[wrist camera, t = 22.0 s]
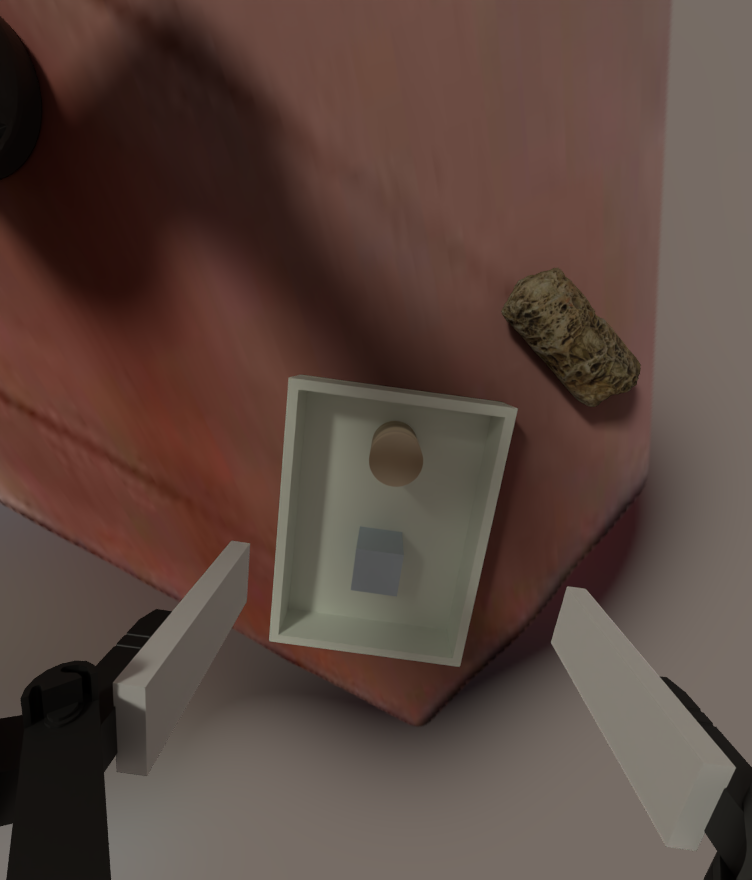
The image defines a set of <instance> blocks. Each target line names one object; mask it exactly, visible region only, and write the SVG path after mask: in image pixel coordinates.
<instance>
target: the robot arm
mask: <svg viewBox="0 0 752 880" xmlns="http://www.w3.org/2000/svg"><path fill="white" fill-rule="evenodd" d="M40 124H41V95H40V89H39V84H38V80H37V76H36V73H35V70H34V67H33V64H32V62H31V59H30V57H29V55H28V53H27V51H26V49H25V47H24V46H23V44H22V42H21V41H20V39H19V38H18V36H17V35H16V34H15V32H14V31H13V30H12V28H11V27H10V26H9V25H8V24H7V23H6V22H5V20H4V19H3V18H1V17H0V179H1V178H4V177H6V176H8V175H10V174H11V173H13V172H14V171H16V170H17V169H18V168H19V167H20V166H21V165H22V164H23V163H24V162H25V161H26V159H27V158H28V157H29V155H30V153H31V152H32V150H33V148H34V146H35V143H36V140H37V137H38V134H39V130H40ZM249 551H250V543H243V542H236V541H231V542H230V543H229V544H228V546H227V547H226V548H225V549H224V550H223V552H222V553H221V554H220V555H219V556H218V558H217V559H216V560H215V561H214V562H213V563H212V565H211V566H210V567H209V568H208V569H207V571H206V572H205V573H204V574H203V575H202V577H201V578H200V579H199V580H198V581H197V583H196V584H195V585H194V586H193V587H192V589H191V590H190V591H189V592H188V593H187V595H186V596H185V597H184V598H183V599H182V601H181V602H180V603H179V604H178V605H177V607H176V608H175V609H174V610H173V611H166V610H158V609H156V610H154V611H152V612H151V613H149V614H148V615H146V616H145V617H143V618H141V619H139V620H138V621H137V623H136V624H135V625H134V626H133V627H132V628H131V629H130V630H129V631H128V632H127V635H125V636H123V637H122V639H121V640H120V641H119V642H118V643H117V645H116V646H115V647H113V648H112V649H111V650H110V651H109V652H108V653H107V655H106V656H105V657H104V658H103V659H102V660H101V661H100V662H99V663H98V664H97V665H96V666H94V665H93V664H91V663H89V662H87V661H72V662H68V663H63V664H60V665H58V666H55V667H53V668H51V669H48V670H46V671H45V672H44V673H42V674H41V675H39V676H38V677H36V678H35V679H34V680H33V681H32V682H31V683H30V684H29V685H28V686H27V687H26V688H25V690H24V692H23V694H22V697H21V706H22V715H20V716H14V717H7V718H1V719H0V826H3V825H8V824H12V823H13V828H12V836H11V845H10V854H9V862H8V870H7V879H6V880H111V872H110V858H109V843H108V827H107V813H106V798H105V783H104V772H105V770H106V769H107V767H108V766H109V764H110V763H111V761H112V760H113V759H114V757H115V756H116V768H117V772H121V773H128V774H136V775H143V776H147V775H148V773H149V772H150V770H151V768H152V766H153V765H154V763H155V761H156V759H157V758H158V756H159V754H160V752H161V751H162V749H163V747H164V745H165V744H166V741H167V740H168V738H169V737H170V735H171V733H172V731H173V729H174V728H175V726H176V724H177V723H178V721H179V719H180V717H181V715H182V714H183V712H184V710H185V709H186V707H187V705H188V703H189V702H190V700H191V698H192V696H193V695H194V693H195V691H196V689H197V688H198V686H199V684H200V682H201V680H202V679H203V677H204V675H205V673H206V672H207V670H208V668H209V666H210V665H211V663H212V661H213V659H214V657H215V656H216V654H217V652H218V651H219V649H220V647H221V645H222V644H223V642H224V640H225V638H226V637H227V635H228V633H229V631H230V630H231V628H232V626H233V624H234V623H235V621H236V619H237V617H238V616H239V614H240V612H241V610H242V609H243V607H244V605H245V603H246V602H247V587H248V569H249ZM551 644H552V645H553V647H554V649H555V651H556V652H557V654H558V656H559V658H560V659H561V661H562V663H563V665H564V667H565V668H566V670H567V672H568V674H569V675H570V677H571V678H572V681H573V683H574V684H575V686H576V688H577V690H578V691H579V693H580V695H581V697H582V699H583V700H584V702H585V704H586V706H587V707H588V709H589V711H590V712H591V714H592V716H593V718H594V720H595V722H596V723H597V725H598V727H599V729H600V730H601V732H602V734H603V736H604V737H605V739H606V741H607V743H608V745H609V746H610V748H611V750H612V752H613V753H614V755H615V757H616V759H617V760H618V762H619V764H620V766H621V768H622V769H623V771H624V773H625V774H626V776H627V778H628V780H629V782H630V783H631V785H632V787H633V789H634V791H635V792H636V794H637V796H638V798H639V799H640V801H641V803H642V805H643V807H644V808H645V810H646V812H647V814H648V815H649V817H650V819H651V821H652V822H653V824H654V826H655V828H656V830H657V831H658V833H659V835H660V836H661V838H662V840H663V842H664V844H665V845H666V847H673V848H679V849H687V850H694V851H696V850H697V849H698V847H699V844H700V842H701V840H702V838H703V836H704V834H705V833H706V835H707V836H708V838H709V839H710V841H711V842H712V843H713V845H714V847H715V848H716V850H717V853H716V855H715V857H714V859H713V861H712V863H711V865H710V867H709V869H708V871H707V873H706V875H705V877H704V880H752V767H751V766H750V765H749V764H748V763H747V762H746V760H745V759H744V758H743V757H742V756H741V755H740V754H739V753H738V751H737V750H736V749H735V748H734V747H733V746H732V745H731V743H730V742H729V741H728V740H727V739H726V738H725V737H724V736H723V734H722V733H721V732H720V731H719V730H718V729H717V727H714V726H713V723H712V722H711V721H710V720H709V718H708V717H707V716H706V715H705V714H704V713H702V712H701V711H700V708H699V707H698V706H697V705H696V704H695V702H693V700H692V699H691V698H690V697H689V696H688V695H687V694H686V692H684V691H683V690H682V689H681V688H679V687H678V686H677V685H676V684H674V683H673V682H672V681H671V680H669V679H668V678H667V677H660V676H659V675H658V674H657V673H656V672H655V671H654V670H653V668H652V667H651V666H650V665H649V664H648V662H647V661H646V660H645V659H644V658H643V657H642V655H641V654H640V653H639V652H638V651H637V650H636V648H635V647H634V646H633V645H632V643H631V642H630V641H629V640H628V639H627V637H625V635H624V634H623V633H622V631H621V630H620V629H619V628H618V627H617V626H616V624H615V623H614V622H613V621H612V620H611V618H610V617H609V616H608V615H607V614H606V613H605V611H604V610H603V609H602V608H601V607H600V605H599V604H598V603H597V602H596V601H595V599H594V598H593V597H592V596H591V595H590V593H589V592H588V591H587V590H586V589H582V588H574V587H567V589H566V593H565V596H564V599H563V603H562V606H561V610H560V613H559V616H558V620H557V623H556V627H555V630H554V634H553V637H552V641H551Z"/></svg>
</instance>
